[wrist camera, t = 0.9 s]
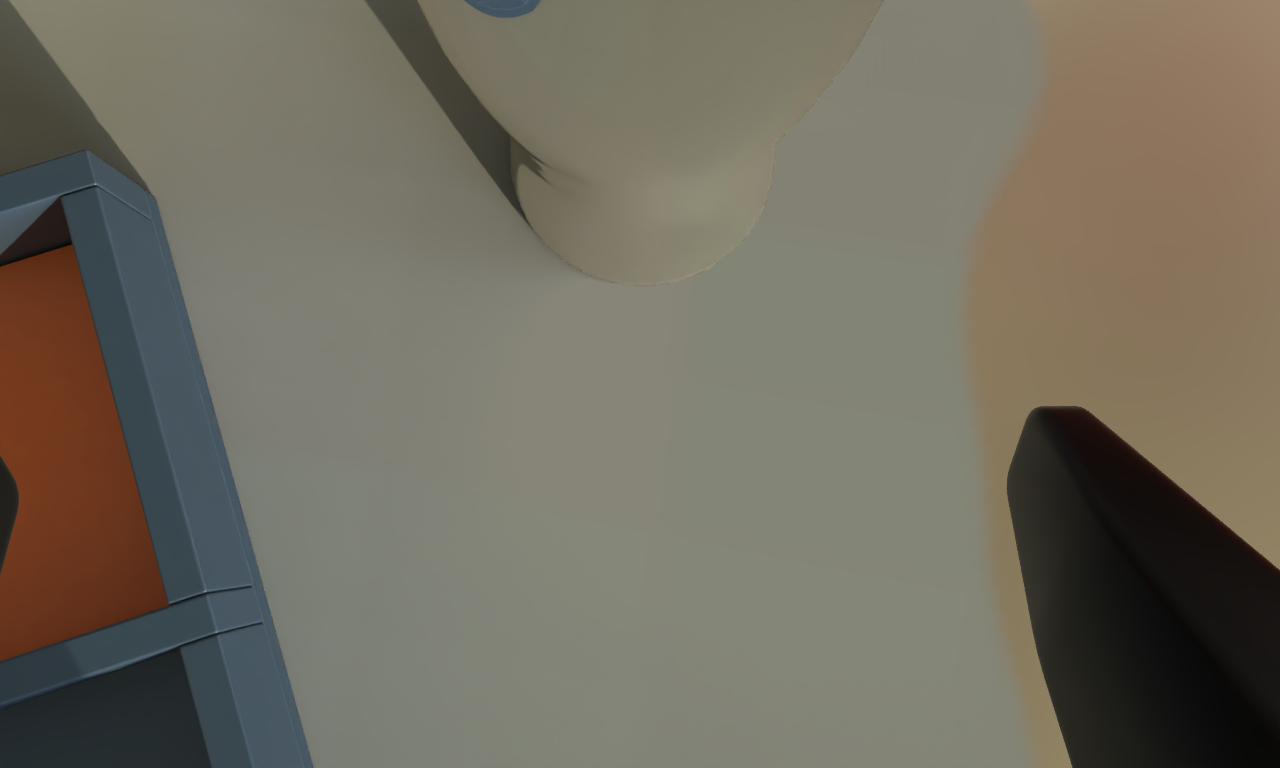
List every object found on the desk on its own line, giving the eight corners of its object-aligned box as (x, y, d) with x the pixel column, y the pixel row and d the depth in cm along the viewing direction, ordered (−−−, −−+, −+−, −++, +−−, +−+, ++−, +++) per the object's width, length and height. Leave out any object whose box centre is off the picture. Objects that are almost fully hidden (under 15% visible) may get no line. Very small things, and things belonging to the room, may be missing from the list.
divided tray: (394, 1054, 22) (355, 1139, 19) (-85, 1224, 21) (-205, 1340, 18) (155, 195, 24) (86, 147, 21) (-278, 330, 24) (-413, 300, 21)
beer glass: (692, 364, 24) (791, 91, 9) (434, 207, 24) (126, -299, 9) (846, 114, 25) (1171, -511, 10) (595, -33, 25) (543, -843, 10)
